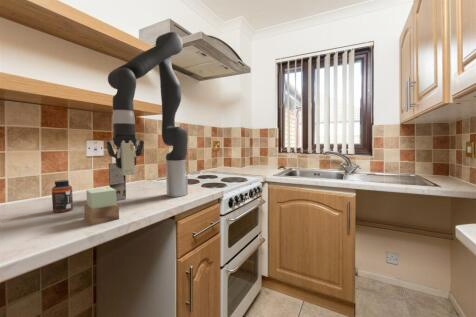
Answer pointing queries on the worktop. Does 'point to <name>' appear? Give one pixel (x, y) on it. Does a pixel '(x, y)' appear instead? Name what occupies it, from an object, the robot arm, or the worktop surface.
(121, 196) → the coffee box
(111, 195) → the green block
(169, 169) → the robot arm
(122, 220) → the worktop surface
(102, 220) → the walnut block
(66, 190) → the supplement bottle
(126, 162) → the skincare box
